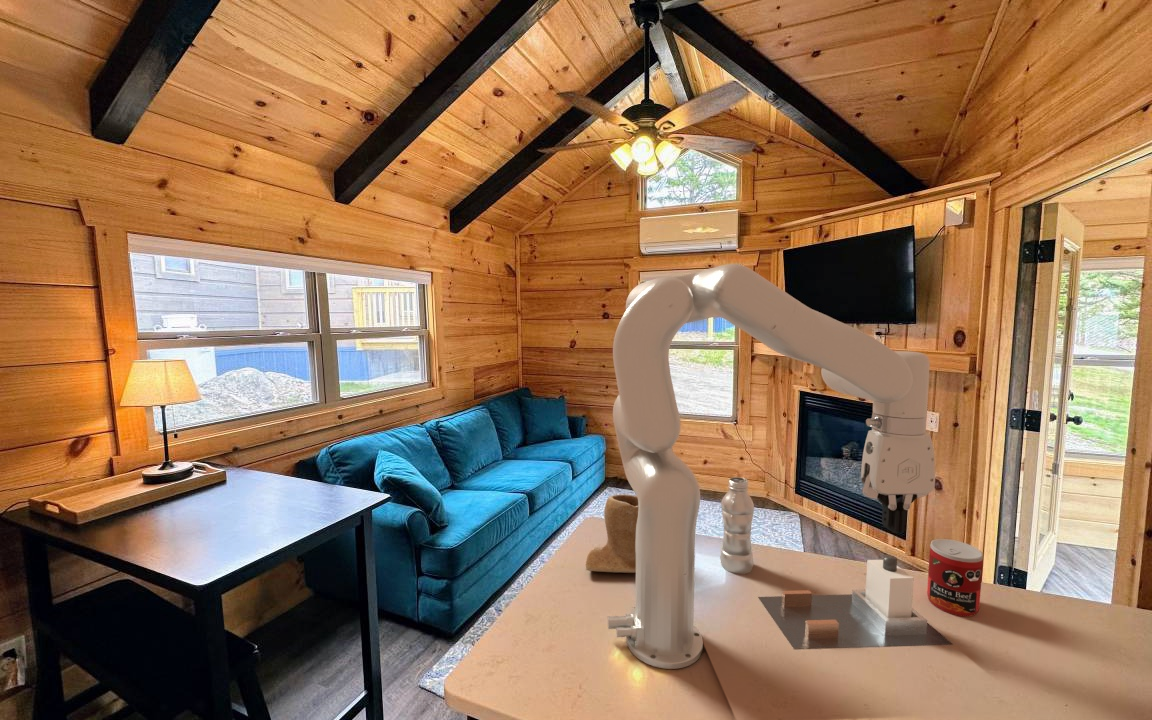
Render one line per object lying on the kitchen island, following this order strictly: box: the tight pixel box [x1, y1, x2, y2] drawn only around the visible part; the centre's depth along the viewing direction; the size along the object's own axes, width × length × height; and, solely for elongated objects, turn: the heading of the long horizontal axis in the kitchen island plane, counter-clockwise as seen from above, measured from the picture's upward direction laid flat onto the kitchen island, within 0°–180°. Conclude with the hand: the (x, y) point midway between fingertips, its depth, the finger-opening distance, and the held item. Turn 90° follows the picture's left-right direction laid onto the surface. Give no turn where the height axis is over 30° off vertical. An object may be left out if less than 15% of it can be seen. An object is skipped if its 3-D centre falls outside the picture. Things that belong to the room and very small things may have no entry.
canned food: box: [926, 538, 984, 617], centre depth 88 cm, size 8×8×11 cm
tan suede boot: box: [585, 494, 639, 574], centre depth 103 cm, size 15×12×15 cm
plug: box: [865, 554, 914, 618], centre depth 82 cm, size 4×6×11 cm, turn 2°
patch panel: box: [757, 588, 954, 650], centre depth 83 cm, size 26×14×4 cm, turn 92°
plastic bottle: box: [719, 476, 755, 575], centre depth 99 cm, size 6×7×20 cm
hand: (893, 529), depth 81 cm, fingers closed
